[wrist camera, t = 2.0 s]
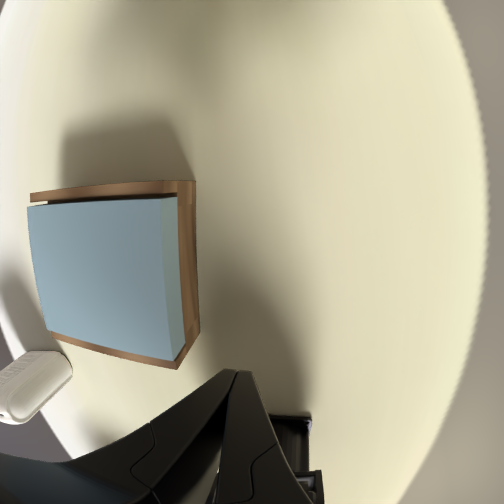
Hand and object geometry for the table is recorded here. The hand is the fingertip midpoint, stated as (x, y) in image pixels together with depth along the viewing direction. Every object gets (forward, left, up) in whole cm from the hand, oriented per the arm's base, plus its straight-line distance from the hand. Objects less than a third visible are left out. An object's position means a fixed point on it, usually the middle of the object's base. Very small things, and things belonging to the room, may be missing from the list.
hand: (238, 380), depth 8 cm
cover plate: (+12, 0, -10) cm, 15 cm away
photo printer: (+28, +15, -13) cm, 34 cm away
